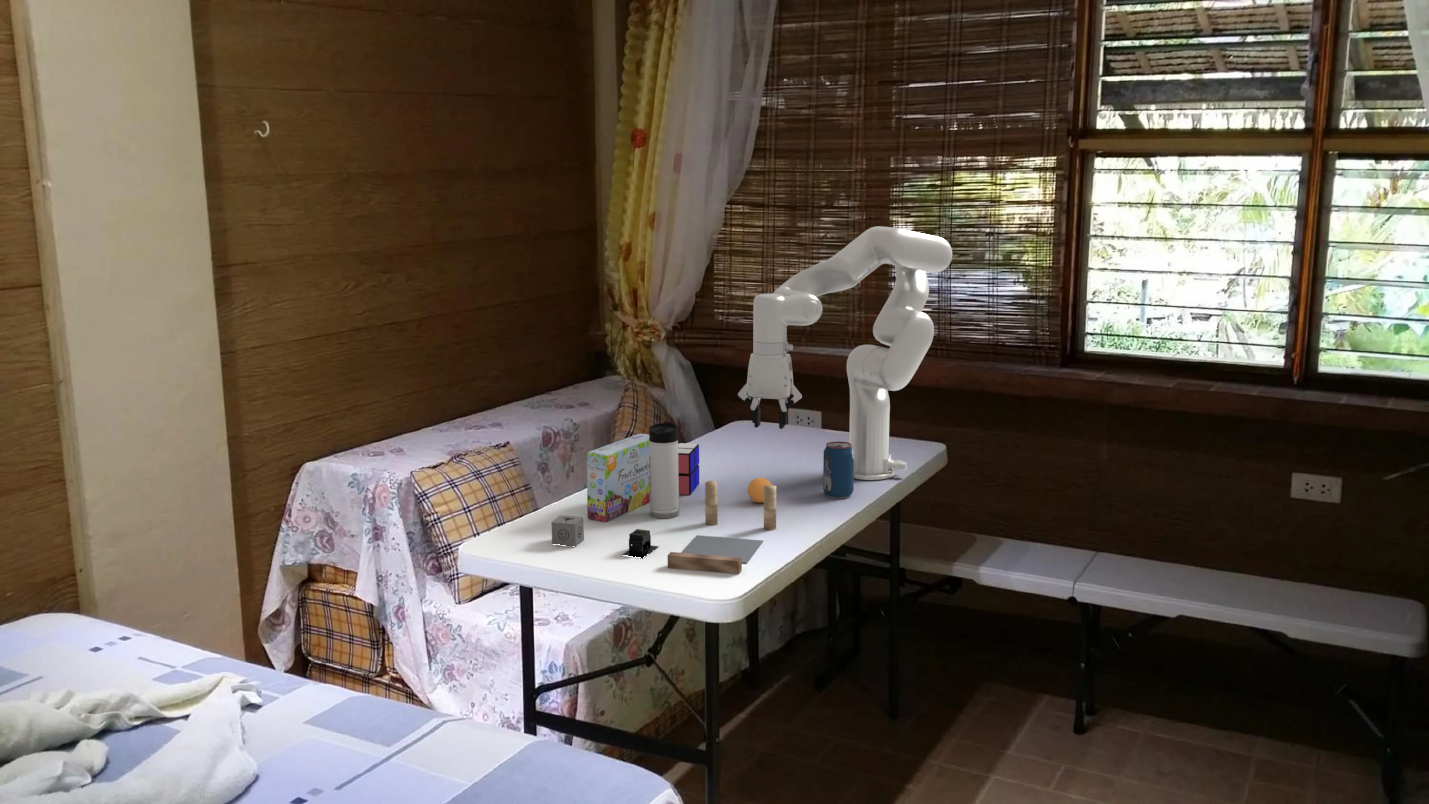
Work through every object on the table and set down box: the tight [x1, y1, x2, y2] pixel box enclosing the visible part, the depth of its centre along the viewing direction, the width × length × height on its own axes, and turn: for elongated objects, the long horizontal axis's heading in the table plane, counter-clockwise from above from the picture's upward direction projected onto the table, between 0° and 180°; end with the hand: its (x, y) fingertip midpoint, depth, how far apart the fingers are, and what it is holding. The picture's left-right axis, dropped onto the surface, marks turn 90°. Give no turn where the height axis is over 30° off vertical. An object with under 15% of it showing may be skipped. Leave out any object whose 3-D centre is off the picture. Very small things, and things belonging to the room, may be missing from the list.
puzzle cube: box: [678, 442, 700, 496], centre depth 289 cm, size 10×10×10 cm
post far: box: [704, 480, 719, 526], centre depth 262 cm, size 3×3×9 cm
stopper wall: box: [667, 551, 743, 575], centre depth 235 cm, size 14×2×2 cm, turn 75°
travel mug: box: [648, 421, 680, 519], centre depth 268 cm, size 6×7×20 cm
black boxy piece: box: [622, 528, 660, 560], centre depth 245 cm, size 12×7×5 cm, turn 159°
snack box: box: [586, 433, 650, 523], centre depth 273 cm, size 21×6×15 cm, turn 151°
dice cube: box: [551, 514, 585, 548], centre depth 251 cm, size 5×5×5 cm
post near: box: [763, 484, 777, 531], centre depth 259 cm, size 3×3×9 cm
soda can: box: [822, 440, 855, 499], centre depth 282 cm, size 7×7×12 cm
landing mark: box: [680, 534, 764, 564], centre depth 246 cm, size 14×14×1 cm
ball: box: [747, 477, 772, 504], centre depth 278 cm, size 6×6×6 cm
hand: (769, 426), depth 284 cm, fingers open, 5 cm apart
